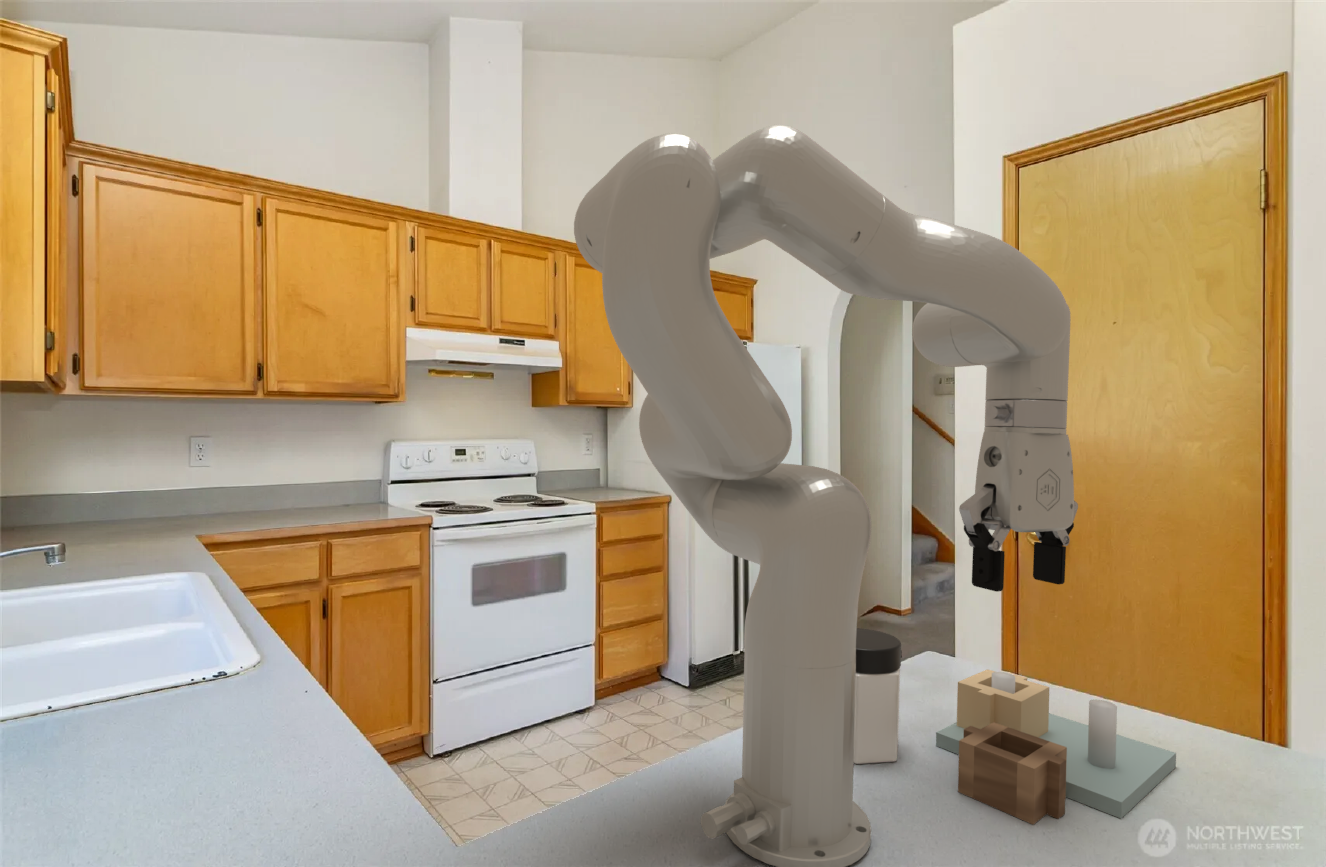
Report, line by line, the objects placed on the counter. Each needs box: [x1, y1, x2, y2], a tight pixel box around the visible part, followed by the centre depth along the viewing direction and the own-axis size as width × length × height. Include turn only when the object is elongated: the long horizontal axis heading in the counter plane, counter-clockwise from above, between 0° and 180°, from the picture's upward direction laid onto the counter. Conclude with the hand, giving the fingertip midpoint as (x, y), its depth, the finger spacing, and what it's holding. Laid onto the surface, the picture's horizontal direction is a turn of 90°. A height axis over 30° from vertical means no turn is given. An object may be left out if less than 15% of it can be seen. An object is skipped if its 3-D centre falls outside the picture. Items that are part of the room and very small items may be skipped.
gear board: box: [935, 669, 1177, 820], centre depth 75 cm, size 16×18×8 cm
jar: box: [854, 627, 903, 765], centre depth 77 cm, size 9×8×12 cm
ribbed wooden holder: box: [957, 722, 1067, 826], centre depth 67 cm, size 7×9×5 cm
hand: (1018, 585), depth 72 cm, fingers open, 9 cm apart
